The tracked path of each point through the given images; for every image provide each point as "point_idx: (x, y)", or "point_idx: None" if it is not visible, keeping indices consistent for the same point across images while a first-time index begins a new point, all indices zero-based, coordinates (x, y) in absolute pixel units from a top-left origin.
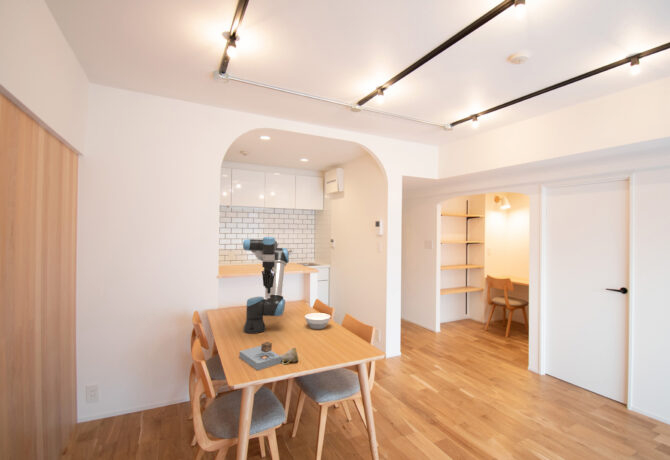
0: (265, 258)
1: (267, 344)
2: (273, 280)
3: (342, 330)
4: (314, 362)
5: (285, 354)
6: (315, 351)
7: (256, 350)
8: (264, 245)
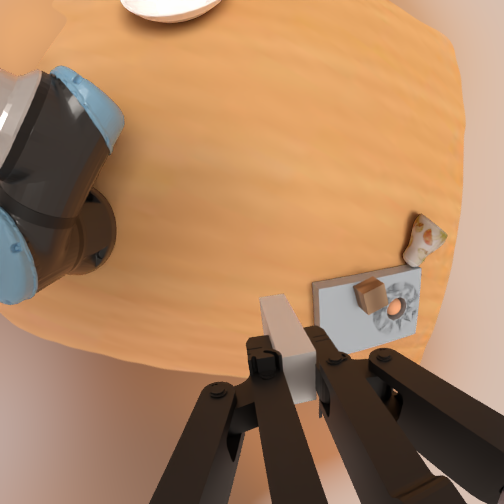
0: None
1: (385, 299)
2: (476, 401)
3: None
4: (446, 187)
5: (425, 256)
6: (398, 135)
7: (347, 318)
8: None
